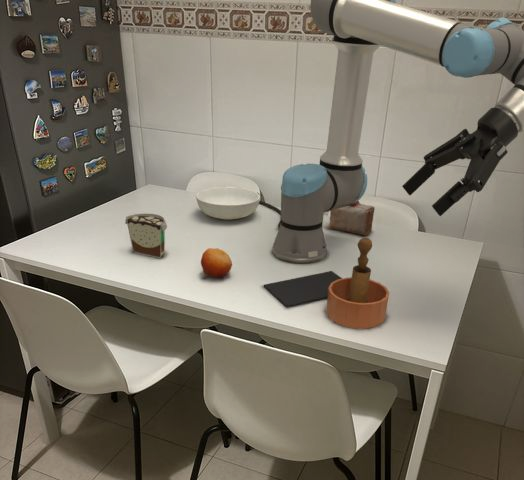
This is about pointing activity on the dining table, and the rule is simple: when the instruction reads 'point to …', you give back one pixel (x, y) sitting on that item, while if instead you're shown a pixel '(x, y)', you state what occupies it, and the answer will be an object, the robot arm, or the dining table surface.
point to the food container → (147, 234)
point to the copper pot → (357, 305)
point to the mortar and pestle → (361, 274)
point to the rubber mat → (302, 288)
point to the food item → (353, 218)
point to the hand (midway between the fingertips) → (420, 200)
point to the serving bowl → (228, 202)
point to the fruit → (215, 263)
